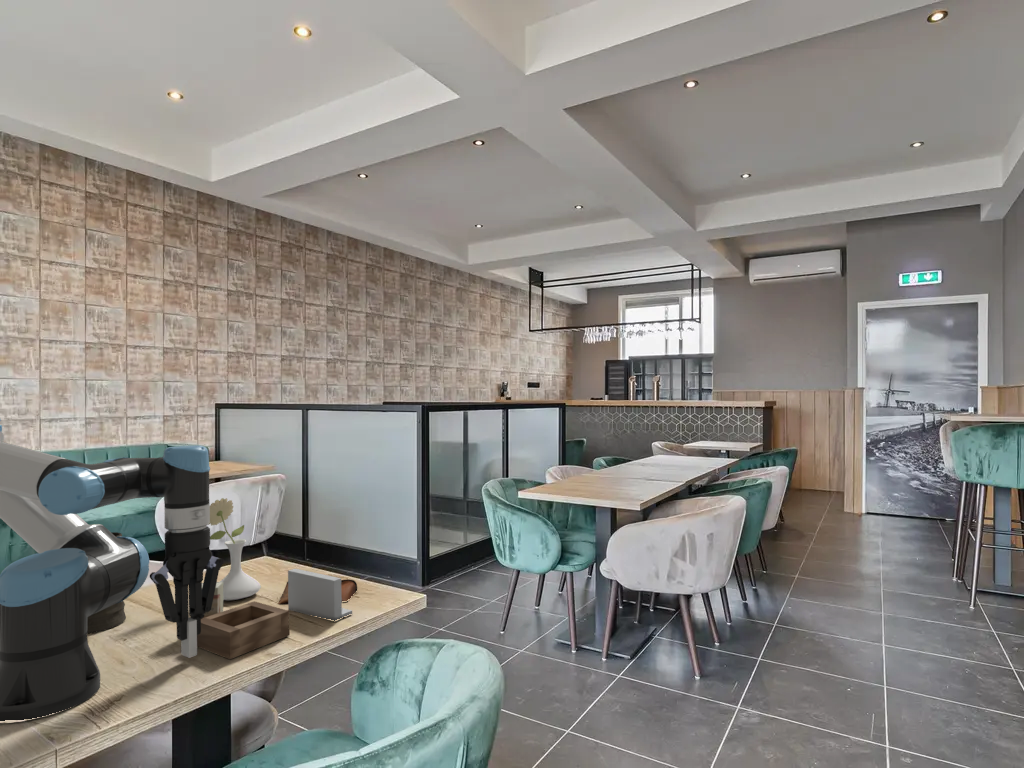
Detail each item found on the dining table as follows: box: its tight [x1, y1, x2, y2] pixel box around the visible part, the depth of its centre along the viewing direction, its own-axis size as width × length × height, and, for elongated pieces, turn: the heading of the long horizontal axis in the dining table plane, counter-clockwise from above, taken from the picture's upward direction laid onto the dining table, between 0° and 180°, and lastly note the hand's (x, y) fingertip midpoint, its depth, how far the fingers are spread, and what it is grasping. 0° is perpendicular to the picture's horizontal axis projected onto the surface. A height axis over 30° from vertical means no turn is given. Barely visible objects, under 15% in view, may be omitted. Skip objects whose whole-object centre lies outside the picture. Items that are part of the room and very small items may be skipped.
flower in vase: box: [207, 497, 262, 601], centre depth 148 cm, size 13×11×25 cm
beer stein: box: [87, 531, 127, 634], centre depth 133 cm, size 15×11×20 cm
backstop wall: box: [287, 568, 353, 621], centre depth 136 cm, size 5×16×9 cm, turn 57°
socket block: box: [197, 601, 291, 660], centre depth 120 cm, size 13×12×5 cm
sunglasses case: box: [277, 579, 358, 605], centre depth 147 cm, size 18×7×7 cm
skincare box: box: [202, 581, 224, 618], centre depth 125 cm, size 5×4×10 cm
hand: (189, 654), depth 111 cm, fingers closed
